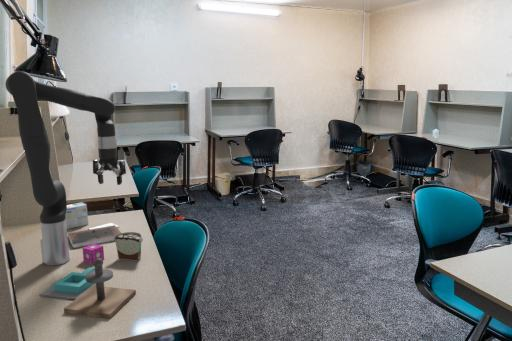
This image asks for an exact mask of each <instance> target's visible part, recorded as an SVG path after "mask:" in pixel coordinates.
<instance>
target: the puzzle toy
mask: <svg viewBox="0 0 512 341" xmlns="http://www.w3.org/2000/svg"><path fill="white" fill-rule="evenodd" d="M81 248H82V258H83V262H85V263H88V264H91V265H93V262H94V260H95V259H96V258H101V259H102V260H103V261H104V260H105V253H104V245H100V244H92V245H89V246H84V247H81Z"/></svg>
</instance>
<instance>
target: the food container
mask: <svg viewBox="0 0 512 341" xmlns="http://www.w3.org/2000/svg"><path fill="white" fill-rule="evenodd" d="M114 240H115V241H114V242H115V245H116V251H117V253H116V254H117V258H118V260H126V261H134V262H135V261H136V262H140V261H141V258H142V257H141V256H142V255H141V254H142V243H143V241H144V238H143V236H142V234H141V233H140V232H135V231H129V232H128V231H127V232H121V233H120V234H117V235H115V237H114Z"/></svg>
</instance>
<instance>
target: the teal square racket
mask: <svg viewBox="0 0 512 341" xmlns="http://www.w3.org/2000/svg"><path fill="white" fill-rule="evenodd" d="M94 270H95V267H94V266H93V267H91V266H89V267H88V268H86V269H84V270H83V271H82V272H76V271H71V272H69V273H68V274H67V275H65V276H64V277H62V278H60V279H59V280H58V281H56V282H54V283H53V285H54V291H60V292H69V293H78V294H80V293H82V292H83V291H84V290H86V289H87V288H88V287H90V286H91V285H92V284H93V283H89V282H87V281H86V280H85V276H86V274H87V273H89V272H91V271H94ZM74 281H77V282H79V283H78V284H76V283H72V282H74Z"/></svg>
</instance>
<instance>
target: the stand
mask: <svg viewBox="0 0 512 341" xmlns="http://www.w3.org/2000/svg"><path fill="white" fill-rule="evenodd" d="M92 265H93V267H94V268H95V270H94V271H91V272H89V273H87V274H86V276H85V280H86V281H87V282H89V283H96V286H92V287H91V288H90V289H88V290H87V291H86V292H84V293H83V294H82V295H81V296H79V297H78V298H77V299H75V300H72V302H70V303H69V304H68V305H66V306H65V307H64V308H63V313H64V314H71V315H80V316H85V317H94V318H95V317H96V318H103V319H111V318H112V317H113V316H115V315H116V314H117V313H118V312H119V311H120V310H121V309H122V308H123V307H124V306H125V305H126V304H127V303H128V302H129V301H131V299H132V298H133V297H134V296H135V295H137V291H136V289H131V288H122V287H121V288H120V287H113V286H105V283H106V282H107V281H109V280H111V279H112V278H113V277H114V271H113V270H112V269H109V268H103V265H104V259H103V260H102V259H101V258H96V259H95V260H94V262H93V264H92Z"/></svg>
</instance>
